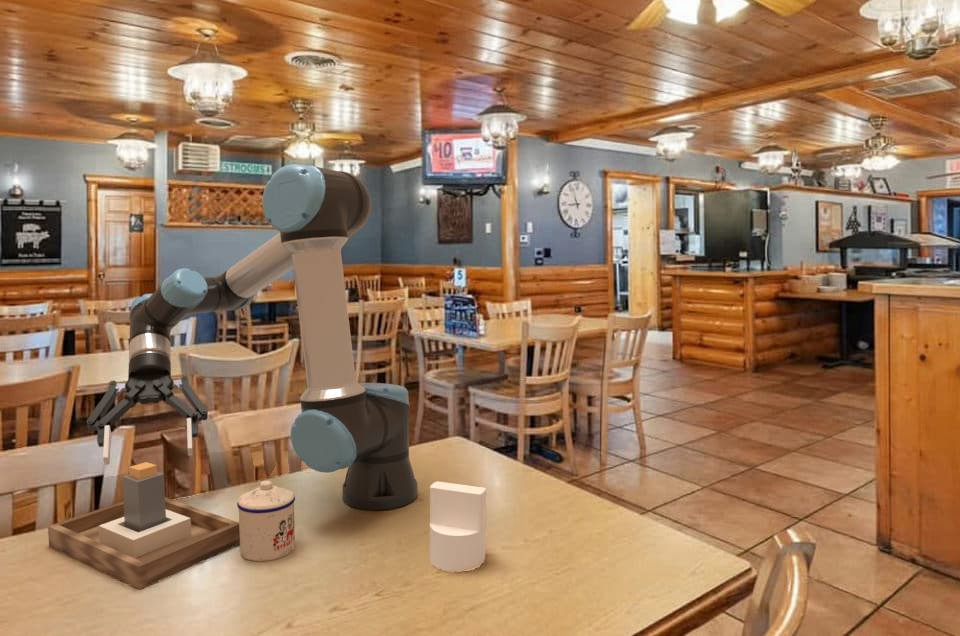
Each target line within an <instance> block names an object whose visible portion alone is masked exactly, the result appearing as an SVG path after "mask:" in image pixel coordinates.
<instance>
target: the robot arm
mask: <svg viewBox="0 0 960 636" xmlns="http://www.w3.org/2000/svg"><path fill="white" fill-rule="evenodd" d="M261 201H262V211H263V215H264V218H265V219H266V221H267V223H269V224H270V226H271V227H272V228H273V229H275V230H277V231H278V233H277V234H276V235H274V236H272V237H271V238H270V239H269V240H267V241H266V242H265V243H262V245H260V246H259V247H258V248H256V249H255V250H253V251H252V252H250V253H249V254H248V255H247V256H245V257H244V258H242V259H240V260H239V261H238V262H237V263H235V264H234V265H232V266H231V267H230V268H229V269H227V270H225V271H224V272H222V273H221V274H220V275H217V276H202V275H201V274H200V273H199V272H197V271H195V270H191V269H190V268H185V267H184V268H179V269H176V270H175V271H174V272H173V273H172V274H170V275H169V276H168V277H166V278H165V279H164V280H163V282H162V283H161V284H160V285H159V286H158V288H157V289H156V290H155V291H154V292H153V293H145V294H143V295H141V296H137V297H136V298H135V299H133V301H132V302H131V306H130V312H129V316H128V318H129V319H128V320H129V344H128V361H129V362H128V371H127V372H128V377H127V378H128V379H127V381H126V382H125V383H123V382H122V383H119V382H118V383H117V381H116V380H111V381H109V383H108V389H107V391H106V392H105V393H104V395H103V397H102V398H101V400H100V401H99V402H98V403H97V405H96V406H95V408H94V410H93V411H92V412H91V414H90V415H89V417H88V418H87V420H86V424H87V429H88V431H97V433H96V434H97V436H96V437H97V438H96V441H97V446H98V447H99V448H103V450H102V451H103V452H102V453H103V454H102V459H103V462H104V465H105V466H106V465H107V466H108V465H110V462H111V443H112V431H111V427H112V426H113V425H114V424H115V423H117V422H118V420H120V418H122V417H123V416H124V415H126V414H127V412H128V411H129V410H131V409H133V408H134V407H136V405H138V403H139V404H140V405H147V404H159V403H160V402H163V403H164V404H165V405H167V406H170V407H171V408H172V409H173V410H175V411H176V412H177V413H179V414H180V415H181V416H183V418H185V419H186V436H187V437H186V438H187V441H186V442H187V456H193V438H198V437H199V422H202V421H206V420H208V417H209V414H208V409H207V407H206V406H205V405H204V403H203V402H202V400H201V399H200V398H199V397H198V395H197V393H196V392H195V391H194V390H193V388H192V387H191V385H190V382H189V377H188V376H187V375H183V376H181V377H180V379H174V380H173V378H172V363H171V360H172V359H171V352H172V350H171V331H172V330H173V328H174V327H176V325H178V324H180V322H181V321H182V320H183V319H185V317H187V316H188V315H196V314H197V315H198V314H205V313H214V312H216V313H217V312H223V311H224V312H225V311H239V310H240V309H244V308H247V307H249V306H250V305H251V303H252V302H253V299H254V298H255V294H258V292H260V291H262V290H263V289H265V288H266V287H268V286H269V285H270V284H273V283H274V282H275V281H277V280H278V279H279V278H281V277H283V276H284V275H285V274H287V273H289V272H290V271H292V270H293V276H294V285H295V286H294V287H295V293H296V301H297V311H298V319H299V326H300V336H301V342H302V343H301V345H302V352H303V361H304V367H305V375H306V377H305V378H306V383H307V387H306V389H305V391H303V393H302V394H301V396H300V397H299V400H300V409H301V410H300V411H301V413H299V414H298V415H297V417H296V418H294V422H293V423H292V425H291V428H290V441H291V444H292V447H293V450H294V452H295V454H296V456H297V457H298V458H299V459H300V461H301V462H304V463H305V465H306V466H307V467H308V468H310V469H311V470H314V471H315V472H319V473H324V474H326V473H327V474H328V473H334V472H336V471H339V470H344V469H346V468H347V471H346V475H345V478H344V482H343V483H342V489H341V491H342V492H341V493H342V494H341V496H342V501H343V502H344V504H346V505H348V506H350V507H352V508H355V509H359V510H367V511H385V510H391V509H396V508H401V507H404V506H407V505H409V504H411V503H413V502H414V501H415V500H416V499H417V498H418V492H419V491H418V489H419V488H418V486H419V485H418V481H417V479H416V478H415V474H414V470H413V466H412V464H411V459H410V407H411V404H410V402H409V400H410V399H409V391H408V389H407V388H406V387H405V386H403V385H398V384H392V383H383V382H382V383H381V382H358V381H357V379H356V371H355V362H354V353H353V345H352V334H351V327H350V326H351V325H350V320H349V319H350V318H349V310H348V302H347V301H348V300H347V292H346V284H345V277H344V276H345V275H344V267H343V266H344V265H343V259H342V257H343V256H342V248H343V247H344V246H345V244H346V243H347V241H348V240H349V238H350V237H352V236H353V235H354V234H356V233H357V232H358V231H359V230H361V229H362V228H363V227H364V226H365V224H366V223H367V221H368V219H369V217H370V214H371V210H372V200H371V195H370V193H369V190H368V188H367V187H366V185H365V184H364V183H363V181H362V180H360V179H359V178H358V177H357V176H356V175H353V174H352V173H349V172H346V171H341V170H335V169H330V168H329V169H328V168H324V167H319V166H315V165H314V164H313V165H312V164H296V163H293V164H292V163H291V164H287V165H284V166H282V167H280V168H279V169H277V170H276V171H275V172H274V173H273V174H272V175H271V178H270V179H269V180H268V181H267V183H266V185H265V186H264V189H263V194H262V199H261ZM174 388H177V390H178V391H179V392H182V393H183V395H184V396H185V398H186V400H187V401H188V402H189V404H190V405H191V406H189V405H188V404H187V403H185V402H184V401H182V400H181V399H180V398H179V397H178V396H176V394H174V392H173V391H172V390H173V389H174ZM124 391H125V392H126V394H125V395H124V398H123V399H122V400H120V402H118V403H117V404H116V405H115V406H114V407H113V408H112V409H110V408H111V407H112V405H113V404H114V402H115V401H116V399H117V396H118V397H119V396H121V394H122V392H124ZM191 407H192V408H191ZM109 409H110V410H109ZM416 497H417V498H416ZM415 498H416V499H415ZM413 500H414V501H413Z"/></svg>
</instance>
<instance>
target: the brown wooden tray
mask: <svg viewBox="0 0 960 636" xmlns="http://www.w3.org/2000/svg"><path fill="white" fill-rule="evenodd" d="M165 509H166V510H169V511H172V512H175V513H178V514H180V515H183V516H186V517H189V518H191V535H190V536H188V537H185V538H183V539H180V540H178V541H175V542H173V543H171V544H168V545H166V546H163V547H161V548H158V549H156V550H153V551H151V552H149V553H146V554H144V555H141V556H139V557H136V558H133V557H130V556H128V555H126V554H124V553H121V552H119V551H117V550H115V549H112V548H110V547H108V546H106V545H103V544H101V543H100V542H99V525H102V524H105V523H108V522H110V521H113V520H116V519H119V518H122V517H124V500H123V501H120V502H117V503H115V504H110V505H108V506H105V507H103V508H98V509H95V510H93V511H89V512H87V513H84V514H83V513H82V514H80V515H78V516H75V517H71V518H69V519H65V520H63V521H60V522H56V523H53V524H50V525H48V526H47V533H48V534H47V535H48V547H50V548H52V549H54V550H57V551H58V552H61V553H63V554H64V555H67V556H69V557H71V558H73V559H75V560H77V561H79V562H82V563H83V564H85V565H87V566H90V567H92V568H93V569H96V570H98V571H100V572H102V573H104V574H106V575H108V576H110V577H112V578H115V579H116V580H118V581H121V582H123V583H125V584H127V585H129V586H131V587H133V588H136V589H137V590H140V591H141V590H142V589H144V588H146V587H149V586H150V585H153V584H156V583H157V581H158V582H160V581H162V580H165V579H166V578H168V576H169V577H171V576H173V575H175V574H177V573H179V572H181V571H184V570H185V569H188V568H190V567H192V566H195V565H197V564H199V563H202V562H204V561H206V560H208V559H210V558H212V557H214V556H216V555H219V554H221V553H223V552H225V551H228V550H230V549H232V548H234V547H237V546H240V530H239V521H237V520H233V519H230V518H227V517H224V516H222V515H218V514H215V513H212V512H209V511H207V510H203V509H201V508H198V507H195V506H192V505H189V504H187V503H183V502H180V501H179V500H174V499H171V498H169V497H166V496H165ZM159 580H160V581H159Z"/></svg>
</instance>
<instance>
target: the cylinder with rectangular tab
mask: <svg viewBox="0 0 960 636" xmlns="http://www.w3.org/2000/svg"><path fill="white" fill-rule="evenodd" d="M486 502H487V488H486V487H480V486H475V485H468V484H467V485H466V484H461V483H460V484H459V483H452V482H445V481H438V480H437V481H434V482H433V483H432V484H431V485H430V487H429V562H430V564H431V566H433V565H434V566H435V567H437V568H439V569H441V570H440V571H442V570H446V571H453V572H454V571H464V570H469V569H472V568H475V567H477V566H479V565H481V563H482V562H484V559H485V560H486V522H487V521H486V519H487V518H486V516H487V515H486V512H487V511H486V509H487V503H486ZM484 563H485V562H484ZM434 566H433V567H434ZM435 567H434V568H435ZM437 568H436V569H437ZM439 569H438V570H439ZM446 571H445V572H446ZM453 572H452V573H453Z"/></svg>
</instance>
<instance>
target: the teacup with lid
mask: <svg viewBox="0 0 960 636" xmlns="http://www.w3.org/2000/svg"><path fill="white" fill-rule="evenodd" d="M295 501H296V496H295V494H294V492H292V490H290V489H288V488H285V487H280V486H278V485H273V482H272V481H271V480H263V481H260V483H259V486H257V487H256V488H253V490H249V491H247V492H245V493H243V494H242V495H241V496H239V498H238V500H237V503H236V506H237V508H238V519H239V521H238V522H239V530H240V544H239V553H240V555H241V556H242V557H243V558H245V559H246V560H249V561H253V562H267V561H273V560H277V559H280V558H283V557H285V556H287V555H288V554H289V553H291V552H292V551H293V550H294V547H295V546H296V545H295V544H296V543H295V540H296V539H295V509H294V508H295V505H294V504H295V503H294V502H295Z"/></svg>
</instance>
